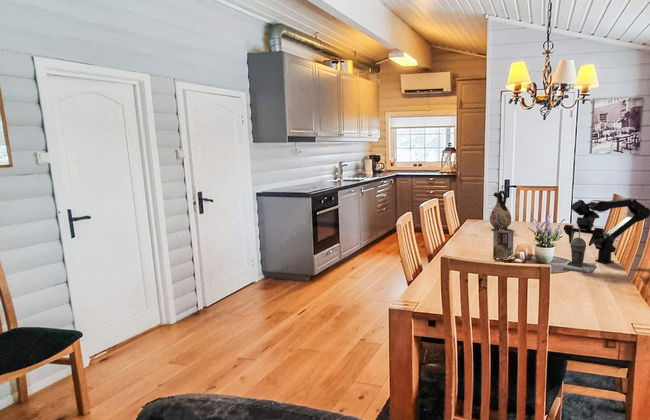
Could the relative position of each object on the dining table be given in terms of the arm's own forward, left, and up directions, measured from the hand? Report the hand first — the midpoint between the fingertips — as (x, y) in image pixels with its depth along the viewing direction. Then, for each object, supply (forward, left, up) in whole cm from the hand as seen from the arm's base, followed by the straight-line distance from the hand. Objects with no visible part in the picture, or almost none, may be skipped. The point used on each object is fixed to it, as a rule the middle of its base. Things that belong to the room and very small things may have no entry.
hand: (579, 244), depth 232 cm
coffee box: (+18, -33, -13) cm, 40 cm away
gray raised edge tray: (+1, +1, -12) cm, 12 cm away
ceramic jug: (-48, -95, -12) cm, 107 cm away
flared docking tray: (+1, +1, -12) cm, 12 cm away
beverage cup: (+1, 0, -12) cm, 12 cm away
